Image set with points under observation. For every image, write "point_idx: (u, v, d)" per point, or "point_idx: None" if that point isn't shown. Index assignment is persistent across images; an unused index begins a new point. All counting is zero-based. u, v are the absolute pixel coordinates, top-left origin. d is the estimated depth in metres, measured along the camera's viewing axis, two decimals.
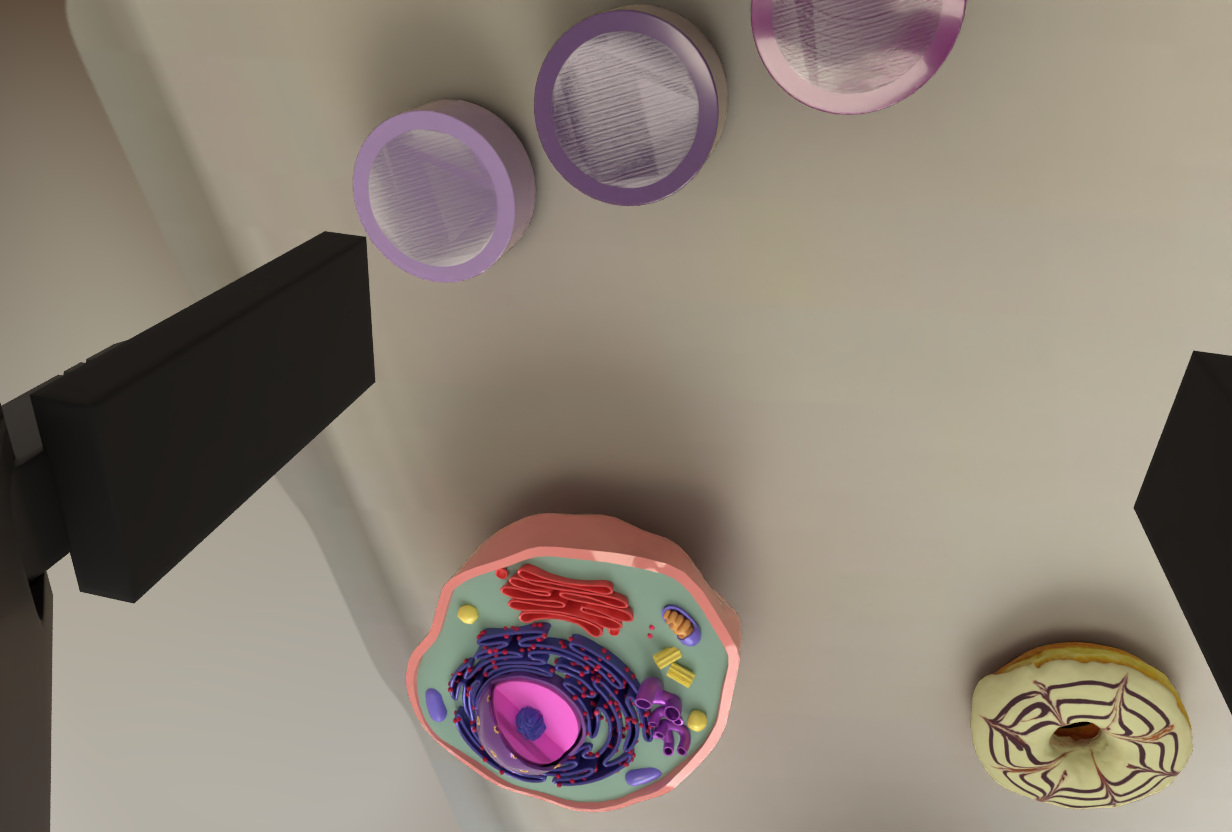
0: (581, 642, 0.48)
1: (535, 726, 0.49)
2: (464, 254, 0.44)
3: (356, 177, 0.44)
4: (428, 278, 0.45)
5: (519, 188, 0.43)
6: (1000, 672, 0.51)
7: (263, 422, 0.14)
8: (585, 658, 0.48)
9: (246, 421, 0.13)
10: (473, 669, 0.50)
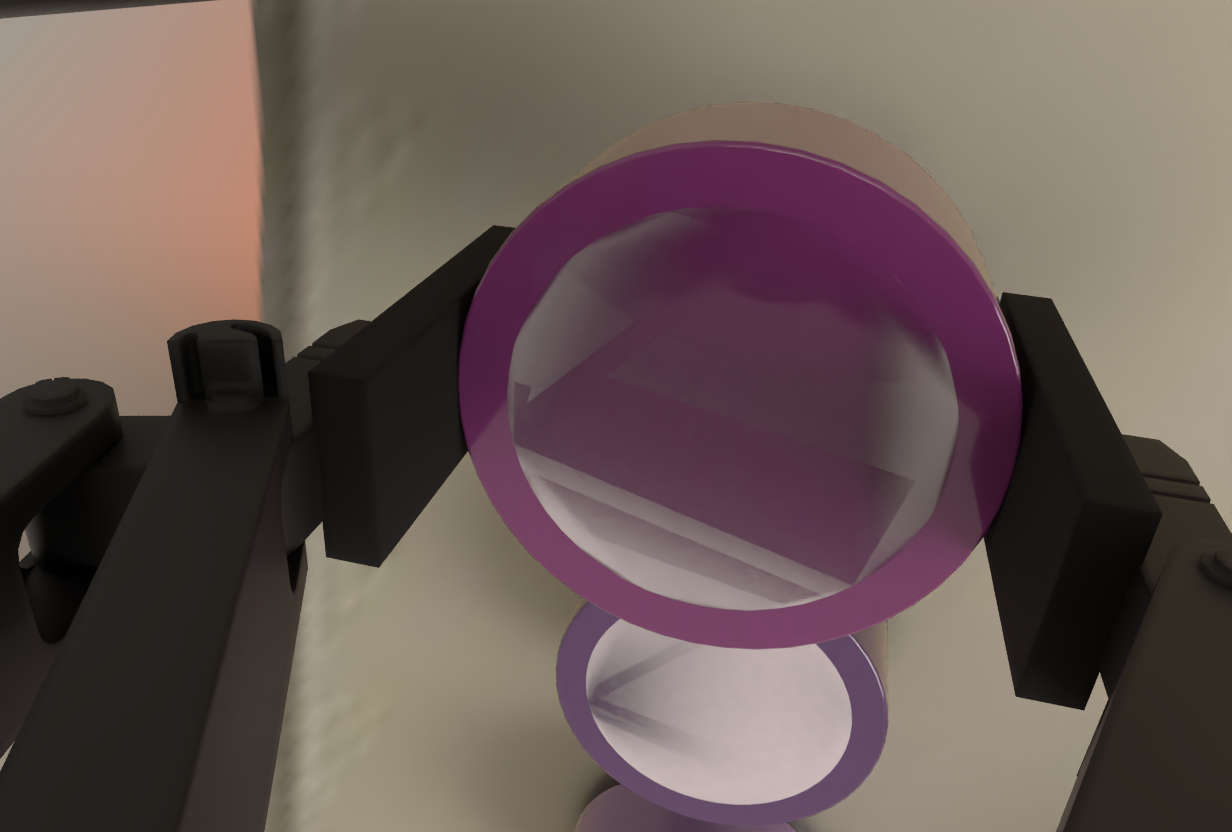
0: None
1: None
2: None
3: None
4: None
5: None
6: None
7: None
8: None
9: (453, 401, 0.14)
10: None
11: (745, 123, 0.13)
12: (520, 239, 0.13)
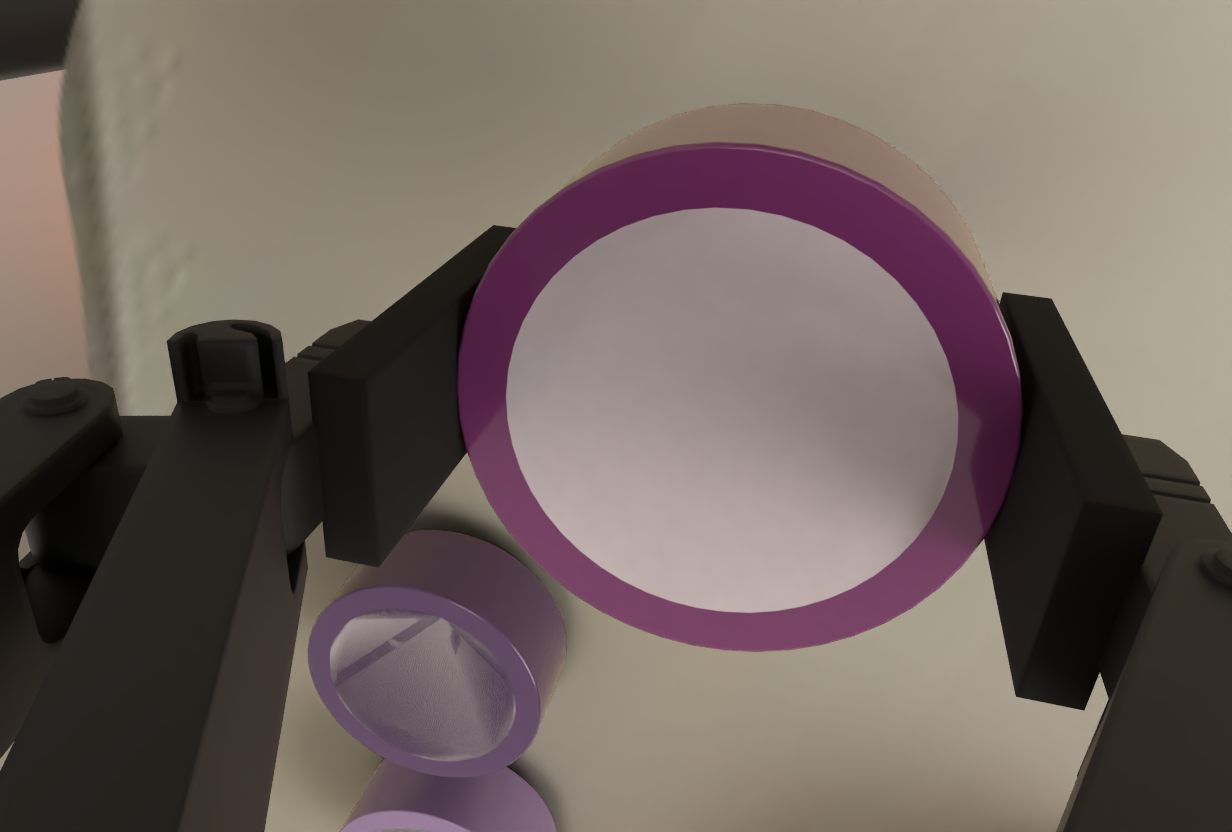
0: None
1: None
2: None
3: None
4: None
5: (467, 806, 0.34)
6: None
7: None
8: None
9: (453, 401, 0.14)
10: None
11: (744, 125, 0.13)
12: (519, 241, 0.13)
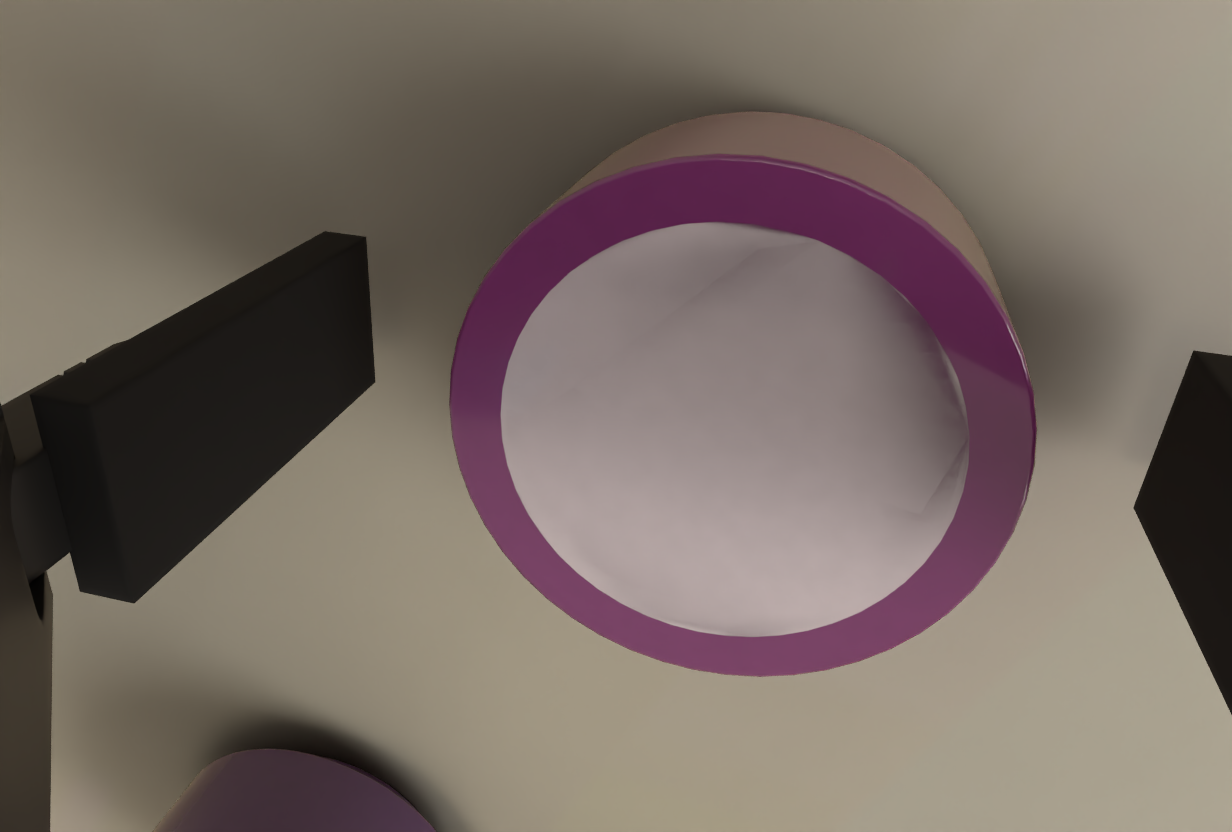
0: None
1: None
2: None
3: None
4: None
5: None
6: None
7: (263, 422, 0.14)
8: None
9: (246, 421, 0.13)
10: None
11: (747, 135, 0.12)
12: (513, 255, 0.12)
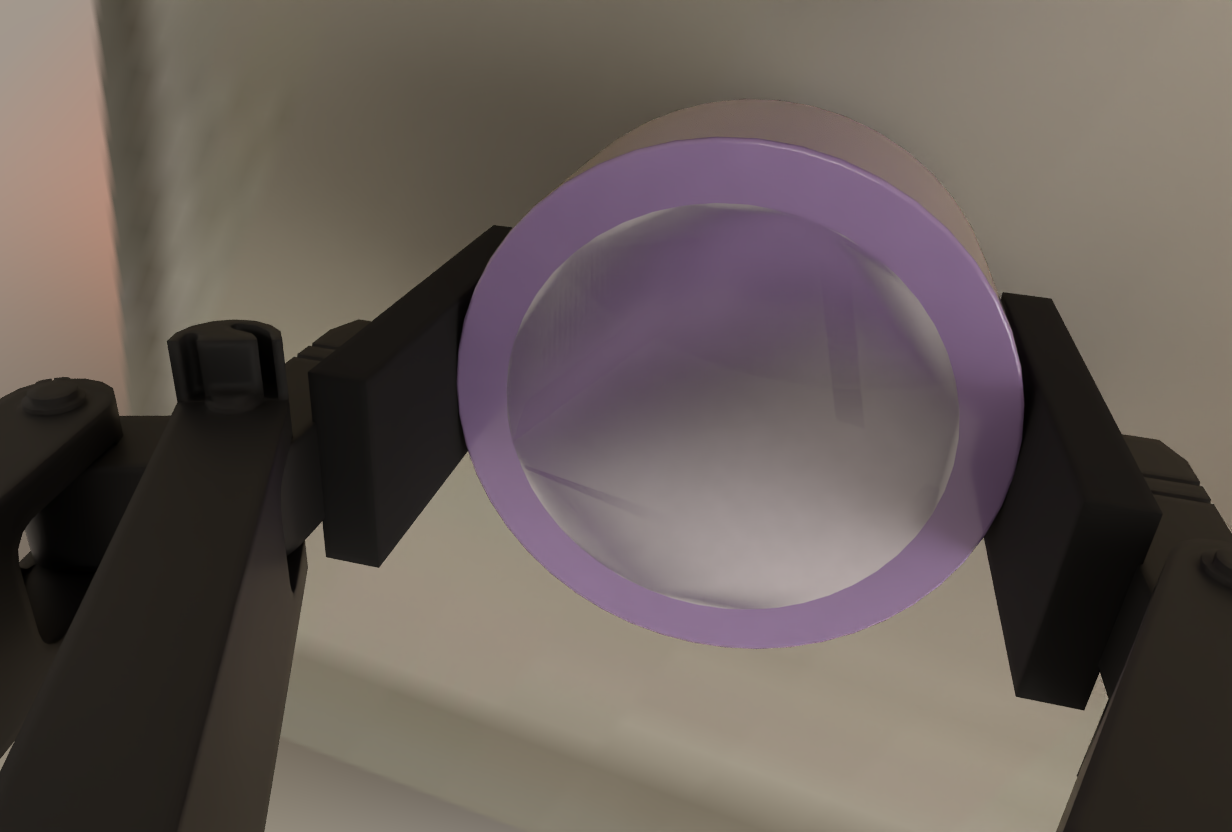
0: None
1: None
2: (928, 449, 0.13)
3: (555, 566, 0.15)
4: (922, 590, 0.14)
5: (855, 152, 0.12)
6: None
7: None
8: None
9: (453, 401, 0.14)
10: None
11: None
12: None
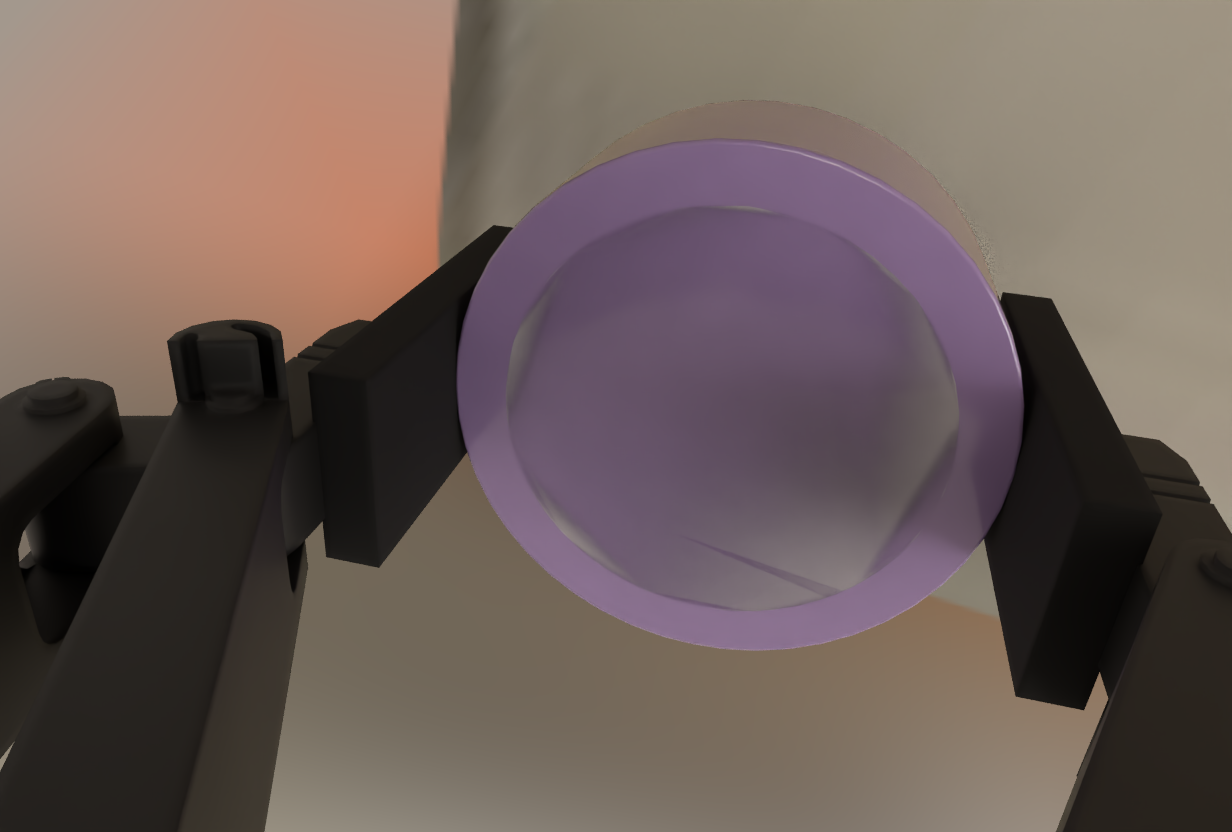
0: None
1: None
2: (928, 450, 0.13)
3: (554, 568, 0.15)
4: (921, 592, 0.14)
5: (853, 153, 0.12)
6: None
7: None
8: None
9: (453, 401, 0.14)
10: None
11: None
12: None
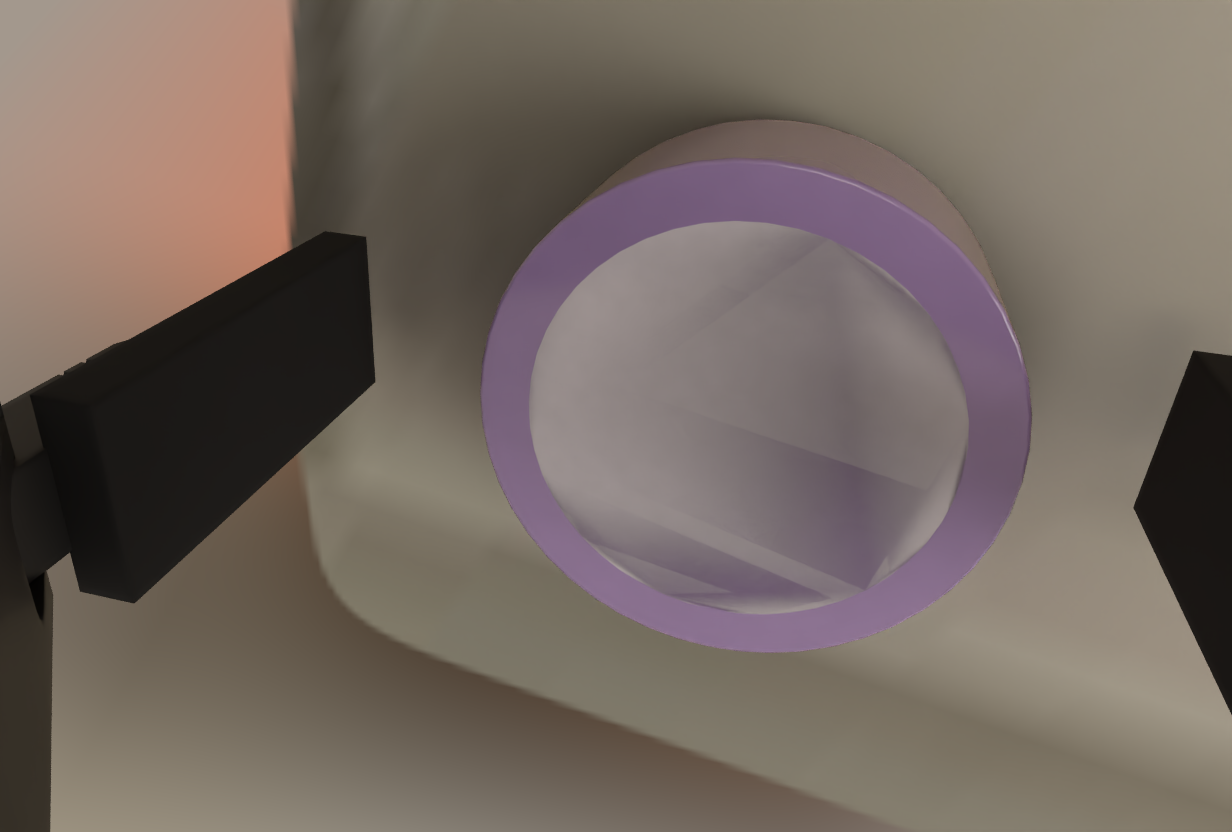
0: None
1: None
2: (938, 458, 0.13)
3: (574, 571, 0.16)
4: (931, 596, 0.14)
5: (868, 171, 0.13)
6: None
7: (263, 422, 0.14)
8: None
9: (246, 420, 0.13)
10: None
11: None
12: None
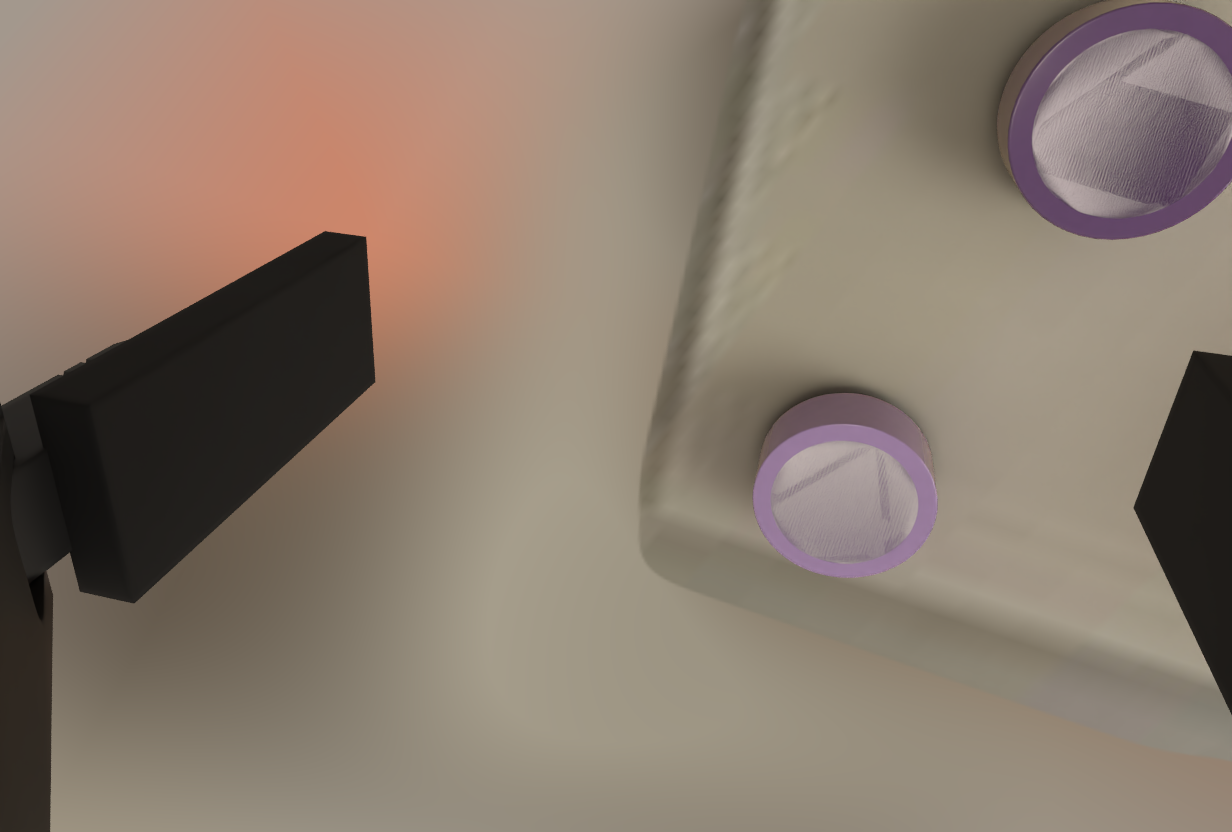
0: None
1: None
2: (909, 511, 0.41)
3: (780, 549, 0.44)
4: (907, 556, 0.42)
5: (886, 424, 0.41)
6: None
7: (263, 422, 0.14)
8: None
9: (247, 421, 0.13)
10: None
11: None
12: None
